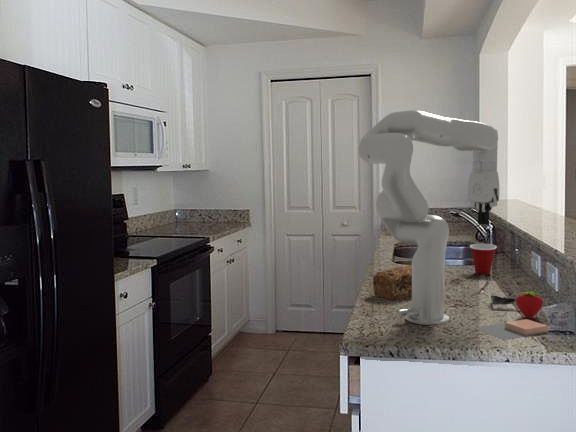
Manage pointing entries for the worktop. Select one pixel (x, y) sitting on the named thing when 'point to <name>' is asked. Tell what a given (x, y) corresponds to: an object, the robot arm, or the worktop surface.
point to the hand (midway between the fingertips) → (483, 224)
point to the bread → (393, 283)
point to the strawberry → (529, 303)
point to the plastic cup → (483, 257)
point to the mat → (502, 332)
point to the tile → (526, 327)
